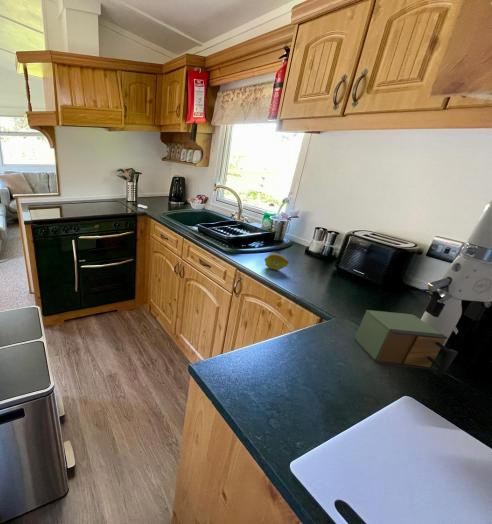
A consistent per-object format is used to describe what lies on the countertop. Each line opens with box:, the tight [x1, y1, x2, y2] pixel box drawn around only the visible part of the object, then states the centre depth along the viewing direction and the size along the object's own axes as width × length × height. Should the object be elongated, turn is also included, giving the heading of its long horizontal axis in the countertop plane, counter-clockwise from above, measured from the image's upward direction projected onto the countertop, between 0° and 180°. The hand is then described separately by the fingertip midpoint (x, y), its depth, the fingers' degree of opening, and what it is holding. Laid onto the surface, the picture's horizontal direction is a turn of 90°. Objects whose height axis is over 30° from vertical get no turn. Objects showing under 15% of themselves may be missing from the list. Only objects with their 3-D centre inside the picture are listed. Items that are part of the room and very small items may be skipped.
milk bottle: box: [420, 294, 463, 346], centre depth 92 cm, size 8×8×20 cm
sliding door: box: [403, 336, 458, 375], centre depth 78 cm, size 6×7×10 cm
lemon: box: [264, 253, 290, 271], centre depth 143 cm, size 11×8×8 cm
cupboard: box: [354, 309, 447, 370], centre depth 86 cm, size 12×14×11 cm
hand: (450, 316), depth 74 cm, fingers open, 9 cm apart
